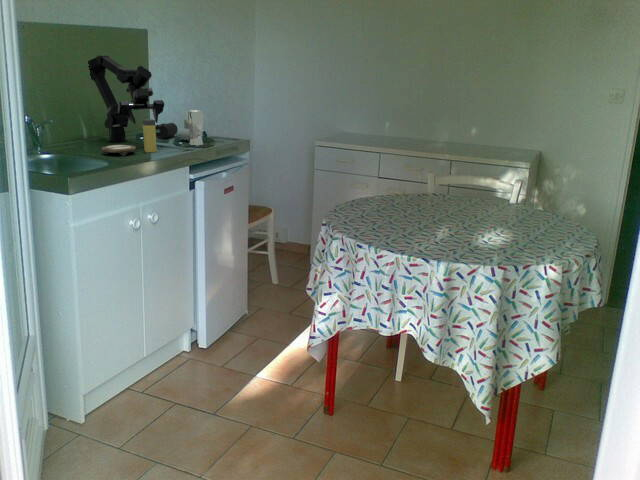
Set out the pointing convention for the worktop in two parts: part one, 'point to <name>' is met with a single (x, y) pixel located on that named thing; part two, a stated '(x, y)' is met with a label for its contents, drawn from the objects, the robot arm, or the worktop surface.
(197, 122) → the beer glass
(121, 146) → the levelling base
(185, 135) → the air freshener
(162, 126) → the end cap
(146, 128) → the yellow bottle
